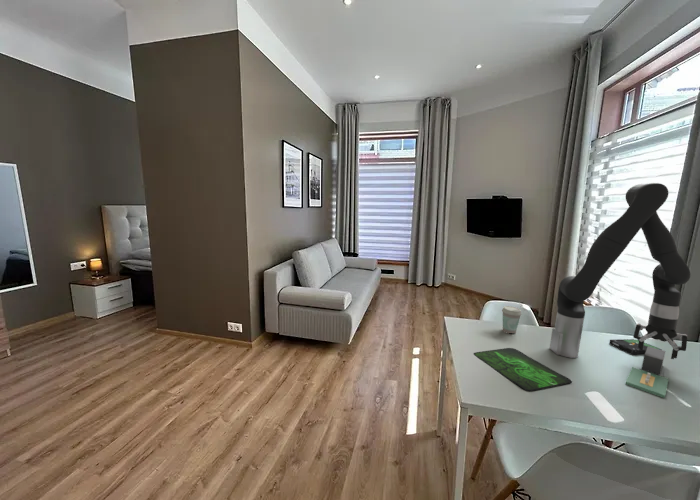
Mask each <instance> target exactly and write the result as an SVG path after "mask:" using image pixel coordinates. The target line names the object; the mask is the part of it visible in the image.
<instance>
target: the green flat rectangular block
mask: <svg viewBox="0 0 700 500" xmlns="http://www.w3.org/2000/svg"><path fill="white" fill-rule="evenodd" d="M668 383H669V378H668V377H665V376H661V375H658V374H655V373H652V372H649V371H646V370H643V369H639V368H636V367H633V366H632V367H631V370H630V372H629V374H628V376H627V378H626V380H625V385H626V386H630V387H632V388H635V389H637V390H641V391H644V392H647V393H649V394H651V395H654V396H658V397H661V398H663V399H665V397H666V393H667V388H668Z"/></svg>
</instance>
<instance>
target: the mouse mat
mask: <svg viewBox="0 0 700 500" xmlns="http://www.w3.org/2000/svg"><path fill="white" fill-rule="evenodd" d="M473 355H474V356H475V357H476V358H477V359H479V360H480V361H482V362H483V363H484V364H485V365H487V366H489V367H490V368H491V369H493V370H494V371H496V372H497V373H498V374H500V375H501V376H503V377H504V378H506V379H507V380H509V381H511V382H512V383H513V384H515V385H517V386H518V387H520V388H521V390H524V391H527V392H535V391H540V390H544V389H550V388H553V387H559V386H564V385H570V384H572V382H573V381H572V380H571V378H569V377H567V376H565V375H563V374H561V373H559V372H557V371H555V370H553V369H552V368H550V367H548V366H546V365H545V364H543V363H541V362H540V361H537V360H535V359H534V358H533V357H530V356H528V355H527V354H525V353H523V352H522V351H520V350H518V349H516V348H513V347H506V348H505V347H504V348H496V349H490V350H484V351H476V352H473Z"/></svg>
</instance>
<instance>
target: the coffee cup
mask: <svg viewBox="0 0 700 500" xmlns="http://www.w3.org/2000/svg"><path fill="white" fill-rule="evenodd" d="M501 311H502V312H501V313H502V331H503V332H504V333H506V332H507V333H506V334H509V333H515V334H516V333H517V330H518V327H519V326H518V325H519V323H520V319H521V317H522V315H523V314H522V310H521V309H520V308H518V307H516V306H511V305H510V306H509V305H505V306H503V308H502V310H501Z"/></svg>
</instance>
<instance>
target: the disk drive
mask: <svg viewBox="0 0 700 500" xmlns="http://www.w3.org/2000/svg"><path fill="white" fill-rule="evenodd" d="M608 344H609V345H610V344H611V346H613V347H614V348H617V349H618V350H621V351H623V352H625V353H628V354H629V355H632V356H637V355H643V356H644V355H645V352H646V350H647V347H652V348H656V349H659V350H663V349H661V348H659V347H657V346H655V345H653V344H650V343H646V342H644V346H643V350H642V351H641V350H640V349H639V348H638V344H639V340H638V339H635V338H631V339H625V338H624V339H621V338H620V339H609V343H608Z"/></svg>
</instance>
